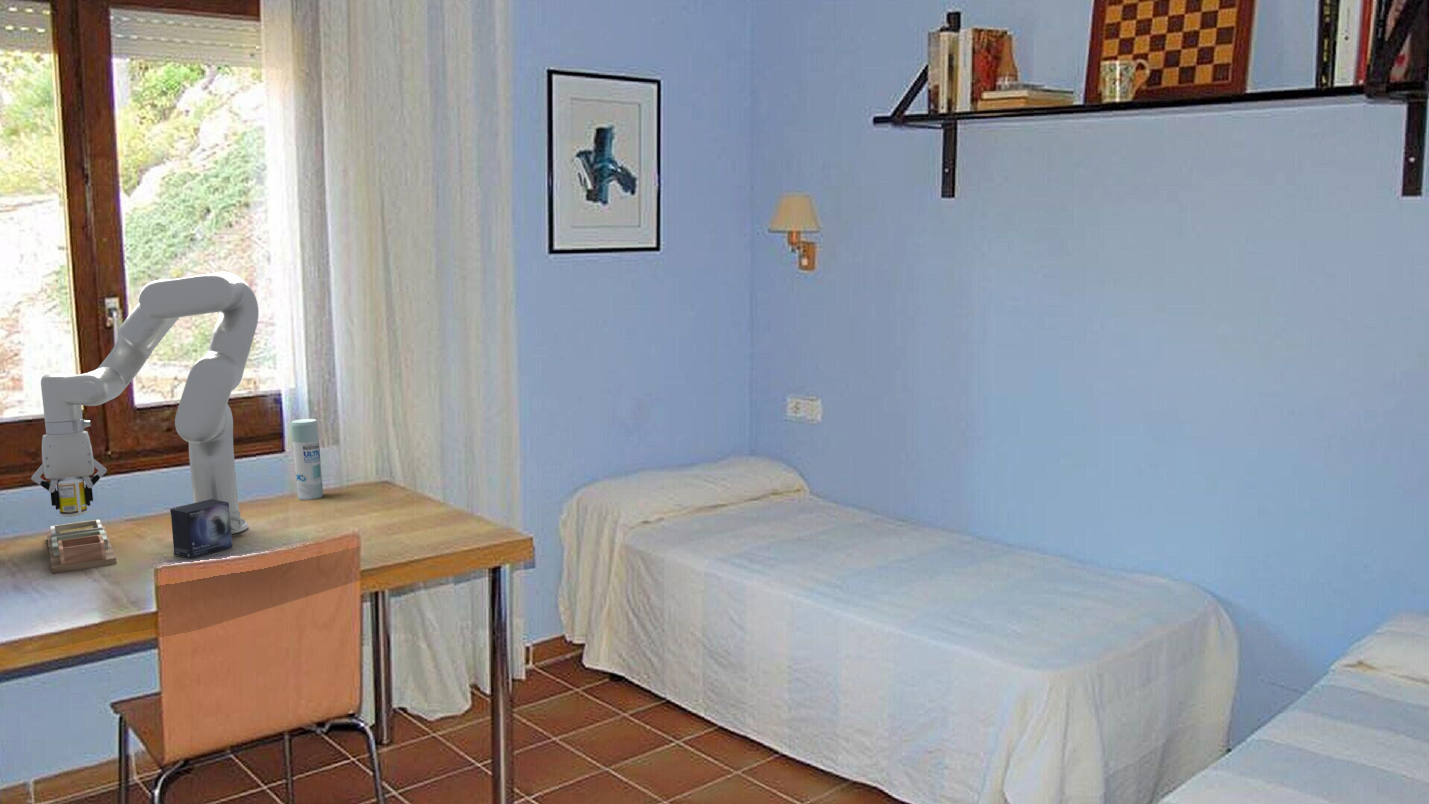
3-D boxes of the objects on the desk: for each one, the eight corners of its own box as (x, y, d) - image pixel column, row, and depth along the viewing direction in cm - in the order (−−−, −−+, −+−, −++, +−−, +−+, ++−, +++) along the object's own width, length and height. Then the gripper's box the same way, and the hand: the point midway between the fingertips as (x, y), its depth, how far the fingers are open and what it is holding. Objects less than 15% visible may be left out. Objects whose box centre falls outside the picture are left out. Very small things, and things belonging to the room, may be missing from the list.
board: (116, 563, 257) (114, 541, 256) (52, 573, 251) (49, 551, 250) (105, 531, 286) (102, 511, 285) (47, 539, 280) (44, 519, 279)
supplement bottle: (81, 510, 280) (76, 466, 278) (91, 513, 276) (87, 469, 275) (55, 515, 276) (51, 471, 274) (66, 518, 272) (61, 473, 271)
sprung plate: (94, 535, 275) (94, 531, 275) (61, 540, 272) (60, 536, 272) (93, 529, 281) (92, 525, 281) (59, 533, 278) (59, 530, 278)
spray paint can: (308, 500, 310) (301, 423, 307) (292, 498, 314) (285, 422, 311) (329, 495, 316) (322, 419, 313) (312, 493, 319) (306, 418, 316)
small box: (191, 559, 258) (186, 511, 256) (172, 556, 261) (167, 508, 260) (234, 547, 267) (230, 501, 265) (215, 544, 270) (211, 498, 268)
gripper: (106, 421, 281) (113, 498, 283) (20, 429, 272) (29, 508, 275) (108, 426, 274) (116, 504, 277) (21, 434, 266) (30, 515, 268)
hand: (72, 505), depth 276 cm, fingers closed on supplement bottle, 5 cm apart
